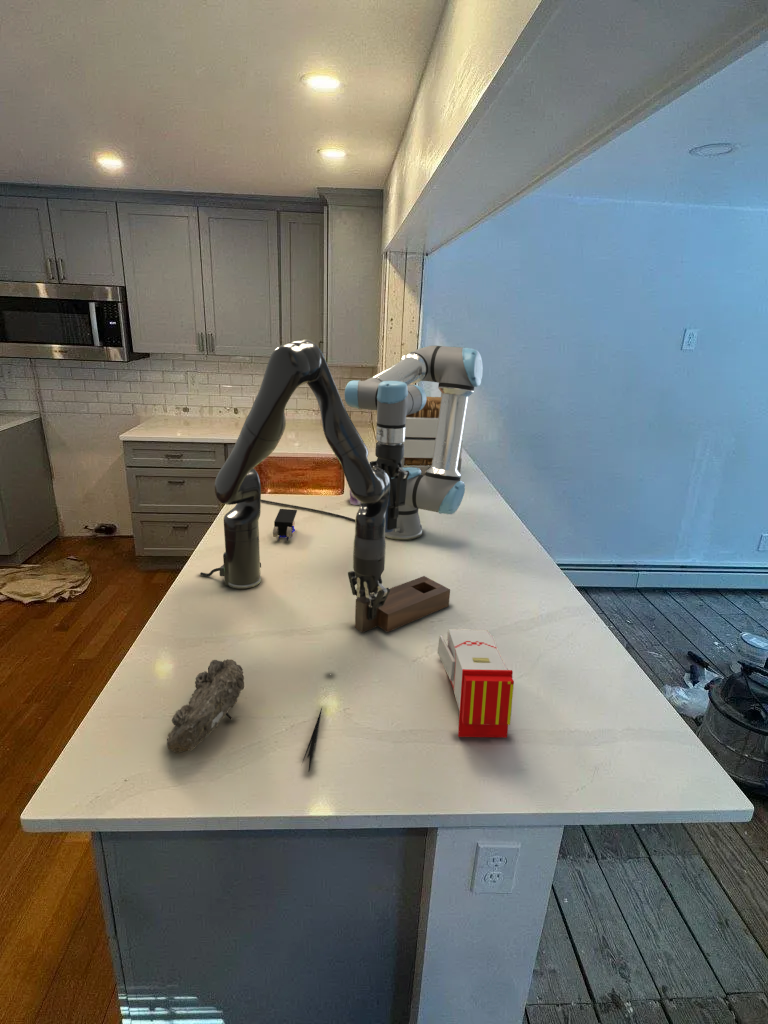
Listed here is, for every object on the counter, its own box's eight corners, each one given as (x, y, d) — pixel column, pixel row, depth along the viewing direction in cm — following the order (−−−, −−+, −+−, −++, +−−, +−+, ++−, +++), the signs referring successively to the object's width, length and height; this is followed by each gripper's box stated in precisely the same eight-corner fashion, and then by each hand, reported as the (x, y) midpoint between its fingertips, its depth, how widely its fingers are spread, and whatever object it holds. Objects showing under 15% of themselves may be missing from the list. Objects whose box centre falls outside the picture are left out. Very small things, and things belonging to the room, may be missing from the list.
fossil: (192, 660, 117) (244, 628, 112) (224, 691, 120) (276, 661, 115) (142, 746, 98) (202, 712, 93) (182, 779, 101) (242, 748, 96)
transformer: (382, 463, 289) (386, 382, 275) (445, 464, 293) (451, 384, 279) (390, 482, 257) (394, 392, 243) (460, 483, 261) (468, 394, 247)
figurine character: (292, 547, 188) (298, 526, 201) (292, 527, 184) (297, 507, 198) (272, 547, 187) (279, 526, 201) (271, 526, 184) (278, 506, 197)
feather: (331, 679, 122) (336, 673, 122) (307, 777, 96) (313, 769, 95) (324, 675, 122) (329, 669, 121) (298, 772, 95) (304, 764, 95)
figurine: (353, 507, 224) (354, 470, 219) (343, 499, 232) (343, 463, 227) (374, 504, 228) (376, 468, 223) (364, 496, 237) (365, 462, 231)
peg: (375, 529, 156) (377, 487, 152) (386, 526, 158) (388, 485, 154) (385, 533, 153) (387, 491, 149) (396, 530, 156) (398, 488, 152)
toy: (488, 613, 130) (523, 677, 101) (484, 667, 133) (517, 744, 104) (435, 612, 130) (455, 676, 101) (432, 666, 133) (451, 743, 103)
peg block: (346, 621, 143) (346, 593, 140) (422, 591, 160) (424, 566, 157) (371, 639, 136) (372, 609, 133) (448, 606, 153) (451, 579, 150)
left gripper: (338, 546, 137) (337, 609, 142) (376, 566, 127) (373, 633, 133) (363, 539, 141) (361, 600, 147) (400, 558, 131) (397, 623, 137)
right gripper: (358, 437, 151) (356, 519, 159) (401, 450, 139) (396, 538, 147) (380, 434, 156) (376, 514, 164) (423, 447, 144) (417, 532, 152)
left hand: (366, 615), depth 140 cm, fingers closed on peg block, 3 cm apart
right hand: (386, 525), depth 155 cm, fingers closed on peg, 4 cm apart
